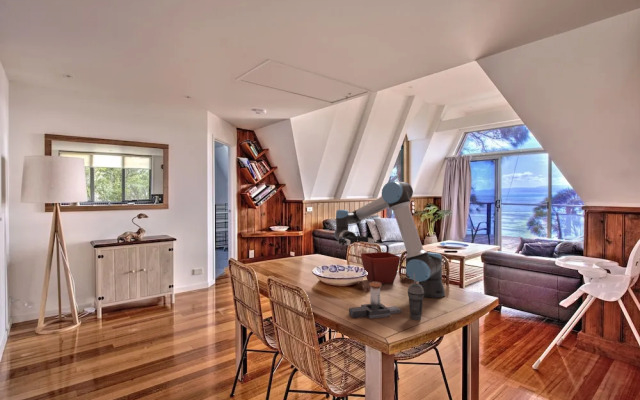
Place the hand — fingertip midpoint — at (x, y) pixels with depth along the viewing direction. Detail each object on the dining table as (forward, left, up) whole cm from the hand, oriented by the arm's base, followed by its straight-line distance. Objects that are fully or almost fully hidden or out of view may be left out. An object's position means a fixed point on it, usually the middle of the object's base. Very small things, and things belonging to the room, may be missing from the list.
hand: (361, 242), depth 176 cm
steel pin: (-12, +17, -30) cm, 37 cm away
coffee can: (-18, -57, -30) cm, 67 cm away
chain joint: (-12, +17, -30) cm, 37 cm away
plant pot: (0, -39, -30) cm, 49 cm away
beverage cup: (-30, +15, -30) cm, 45 cm away
